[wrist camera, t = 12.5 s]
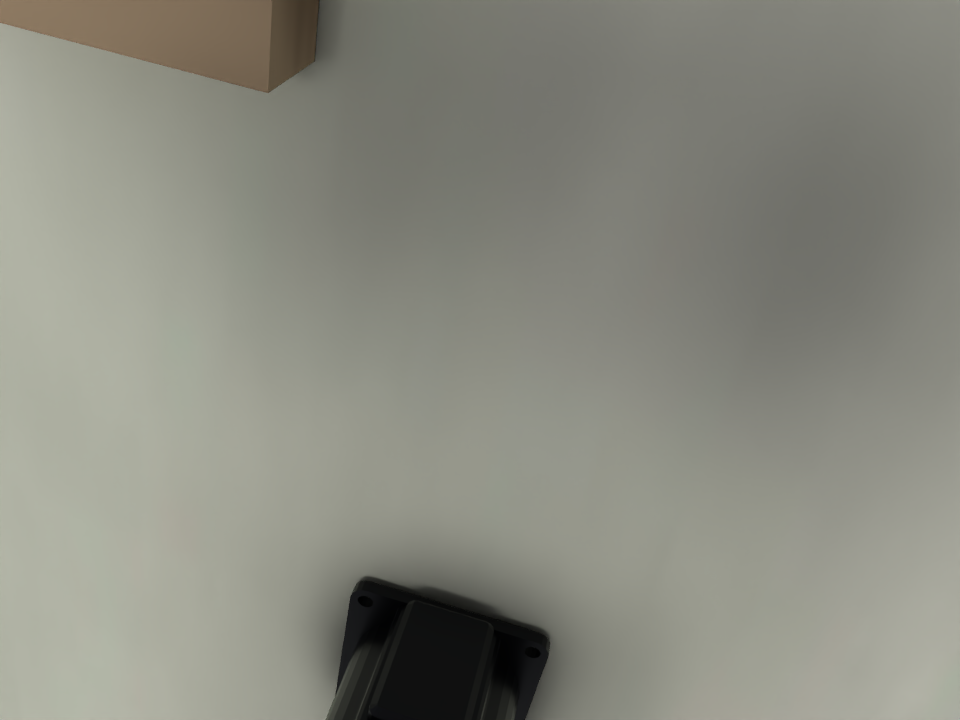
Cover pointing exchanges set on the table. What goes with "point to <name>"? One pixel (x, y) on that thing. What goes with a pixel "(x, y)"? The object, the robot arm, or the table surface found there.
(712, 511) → the table surface
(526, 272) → the table surface
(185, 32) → the wooden tray
